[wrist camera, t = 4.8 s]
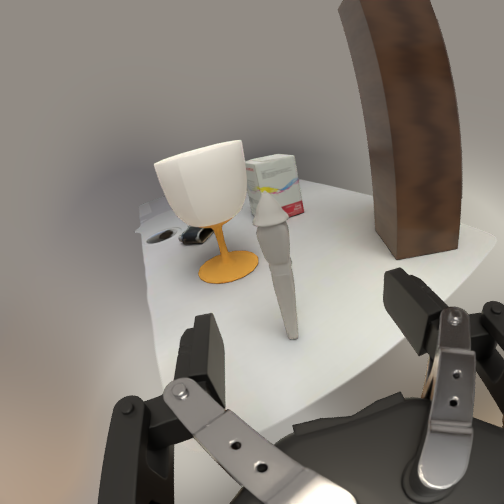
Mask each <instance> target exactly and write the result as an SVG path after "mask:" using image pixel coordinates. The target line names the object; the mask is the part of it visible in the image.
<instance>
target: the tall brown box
mask: <svg viewBox="0 0 504 504" xmlns="http://www.w3.org/2000/svg"><path fill="white" fill-rule="evenodd" d="M338 12H339V15H340V18H341V21H342V25H343V27H344V31H345V35H346V38H347V42H348V46H349V49H350V53H351V57H352V61H353V66H354V70H355V74H356V79H357V83H358V88H359V93H360V98H361V104H362V109H363V115H364V121H365V127H366V133H367V141H368V148H369V156H370V165H371V175H372V186H373V199H374V216H375V230H376V232H377V233H378V234H379V236H380V237H381V239H382V240H383V241H384V243H385V244H386V245H387V247H388V248H389V250H390V251H391V252H392V254H393V255H394V257H395V258H396V260H398V259H404V258H410V257H415V256H421V255H427V254H432V253H437V252H443V251H448V250H453V249H457V248H458V239H459V229H460V214H461V199H462V149H461V134H460V123H459V114H458V107H457V99H456V93H455V87H454V82H453V77H452V72H451V67H450V62H449V58H448V54H447V50H446V46H445V43H444V39H443V36H442V32H441V29H440V26H439V23H438V20H437V19H436V16H435V13H434V10H433V8H432V5H431V2H430V0H343V1H342V3H341V5H340V6H339V8H338Z"/></svg>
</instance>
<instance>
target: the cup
mask: <svg viewBox="0 0 504 504" xmlns="http://www.w3.org/2000/svg"><path fill="white" fill-rule="evenodd" d="M154 167H155V170H156V173H157V176H158V179H159V182H160V184H161V187H162V189H163V191H164V194H165V196H166V198H167V201H168V203H169V205H170V206H171V208H172V210H173V211H174V213H175V214H176V216H177V217H179V218H180V219H181V220H182V221H183V222H185V223H186V224H188V225H190V226H194V227H201V228H212V229H213V230H214V233H215V235H216V238H217V241H218V245H219V249H220V253H221V254H220V255H218V256H215V257H213V258H211V259H210V260H208V261H206V262H205V263H204V264H203V265H202V266H201V267H200V270H199V273H198V274H199V277H200V279H201V280H203V281H205V282H207V283H217V284H220V283H226V282H232V281H234V280H237V279H240V278H242V277H244V276H246V275H247V274H249V273H250V272H252V271H253V270H254V269H255V267H256V266H257V265H258V257H257V256H256V255H255V254H254V253H252V252H248V251H232V252H228V250H227V247H226V244H225V240H224V236H223V231H222V225H223V224H225V223H227V222H228V221H229V220H231V219H232V218H233V217H234V216H236V215H237V214H238V213H239V212H240V210H241V209H242V207H243V204H244V201H245V198H246V193H247V174H246V165H245V158H244V151H243V146H242V141H241V140H236V141H230V142H224V143H220V144H215V145H211V146H207V147H203V148H199V149H196V150H192V151H189V152H185V153H182V154H179V155H176V156H173V157H170V158H167V159H165V160H161V161H159V162H157V163H155V164H154Z"/></svg>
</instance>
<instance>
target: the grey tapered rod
mask: <svg viewBox="0 0 504 504" xmlns="http://www.w3.org/2000/svg"><path fill="white" fill-rule="evenodd" d="M288 218H289V216H288V214H287V213H286V212H285V211H284V210H283V209H282V208H281V206H280V204H279V203H278V202H277V201H276V200H275V199H274V198H273V197H272V196H271V195H270V194H269V193H267V191H263V194H262V196H261V198H260V200H259V203H258V205H257V209H256V215H255V218H254V220H253V225H255V226H258V228H257V232H256V235H257V239H258V241H259V244H260V247H261V249H262V252H263V254H264V257H265V259H266V260H267V262H268V263H269V268H270V271H271V274H272V281H273V285H274V289H275V293H276V296H277V300H278V303H279V306H280V310H281V313H282V317H283V320H284V324H285V328H286V331H287V335H288V337H289V339H297V338H298V324H297V312H296V298H295V286H294V277H293V272H292V267H291V266H292V261H291V258H290V242H289V230H288V226H287V223H286V220H288Z"/></svg>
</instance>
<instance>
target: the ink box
mask: <svg viewBox="0 0 504 504" xmlns="http://www.w3.org/2000/svg"><path fill="white" fill-rule="evenodd" d="M245 165H246V174H247V191H248V196H249V201H250V206H251V210H252V214H253V215H254V216H255V215H256V209H257V205H258V203H259V200H260V198H261V196H262V194H263V191H267V193H269V194H270V195H271V196H272V197H273V198H274V199H275V200H276V201H277V202H278V203H279V204H280V206H281V208H282V209H283V210H284V211H285V212H286V213H287V214H288V216H289V217H291V216H294V215H297V214H300V213H303V212H304V209H303V203H302V196H301V191H300V185H299V179H298V174H297V169H296V162H295V156H293V155H283V154H275V155H271V156H266V157H261V158H255V159H251V160H249V161H245Z"/></svg>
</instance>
